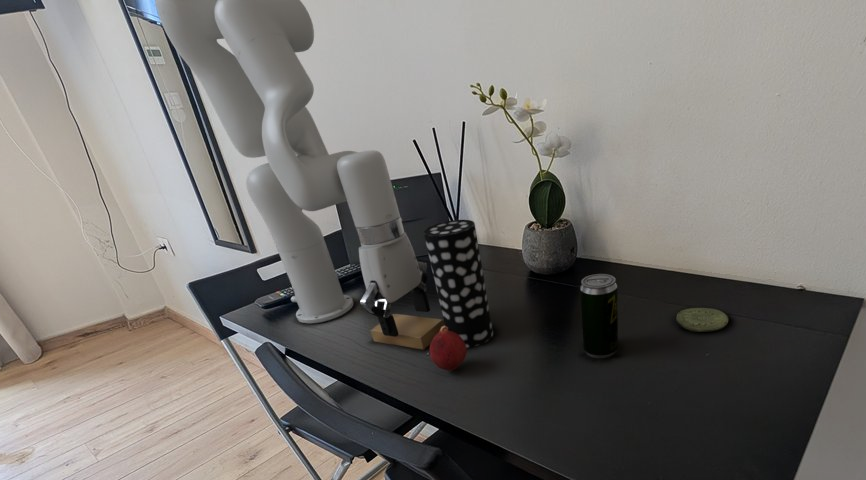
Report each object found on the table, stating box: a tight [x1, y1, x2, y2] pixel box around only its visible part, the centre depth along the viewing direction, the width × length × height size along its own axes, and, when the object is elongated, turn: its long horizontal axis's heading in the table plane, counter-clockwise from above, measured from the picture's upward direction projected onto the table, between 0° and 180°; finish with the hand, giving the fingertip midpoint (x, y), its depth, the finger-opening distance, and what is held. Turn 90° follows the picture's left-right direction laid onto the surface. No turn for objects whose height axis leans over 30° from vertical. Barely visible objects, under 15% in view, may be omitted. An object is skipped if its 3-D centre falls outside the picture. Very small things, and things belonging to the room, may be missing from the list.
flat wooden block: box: [370, 313, 445, 351], centre depth 88 cm, size 12×7×2 cm, turn 61°
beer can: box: [579, 273, 619, 359], centre depth 72 cm, size 5×5×12 cm
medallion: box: [675, 307, 729, 333], centre depth 77 cm, size 8×8×1 cm
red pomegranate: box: [429, 325, 468, 372], centre depth 74 cm, size 6×6×8 cm
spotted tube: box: [423, 219, 494, 349], centre depth 80 cm, size 8×8×20 cm
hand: (407, 322), depth 87 cm, fingers open, 9 cm apart
